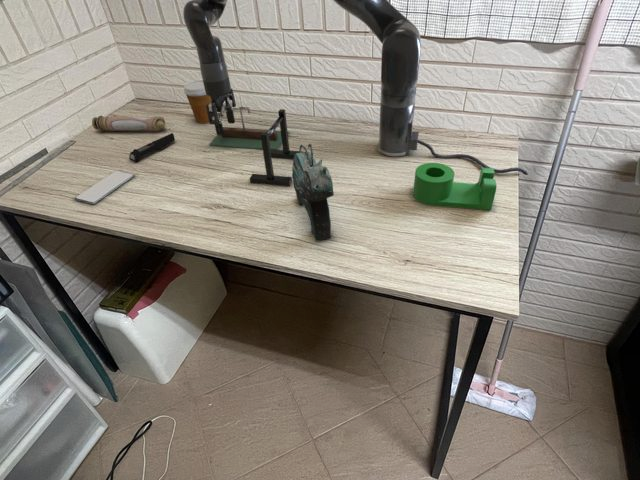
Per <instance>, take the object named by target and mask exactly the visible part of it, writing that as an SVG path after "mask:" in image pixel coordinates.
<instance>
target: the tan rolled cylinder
mask: <svg viewBox="0 0 640 480" xmlns="http://www.w3.org/2000/svg"><path fill="white" fill-rule="evenodd" d="M91 125H92V127H93V129H94V130H99V131H101V132H104V131H112V132H114V131H118V132H119V131H122V132H135V131H137V132H138V131H150V132H156V131H157V132H158V131H163V130H164V128H165V127H166V120H165V118H164V117H162V116H157V115H155V116H152V117H136V116H123V115H112V116H103V115H98V116H94V117H93V118H92V119H91Z"/></svg>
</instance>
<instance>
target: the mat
mask: <svg viewBox="0 0 640 480" xmlns="http://www.w3.org/2000/svg"><path fill="white" fill-rule="evenodd" d="M287 132H288V135H289V134H290V131H288V130H287ZM277 137H278V138H277V140H276V141H272V140H269V143H270V149H276V150H280V147H281V146H282V138H281V130H277ZM208 145H209V147H221V148H232V149H233V148H234V149H246V150H259V151H260V150H261V151H263V148H262V141H261V140H257V139H243V138H228V137H222V135H217V134H216V136H215V138H213V139H212V141H211V142H210V143H209V144H208Z"/></svg>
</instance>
